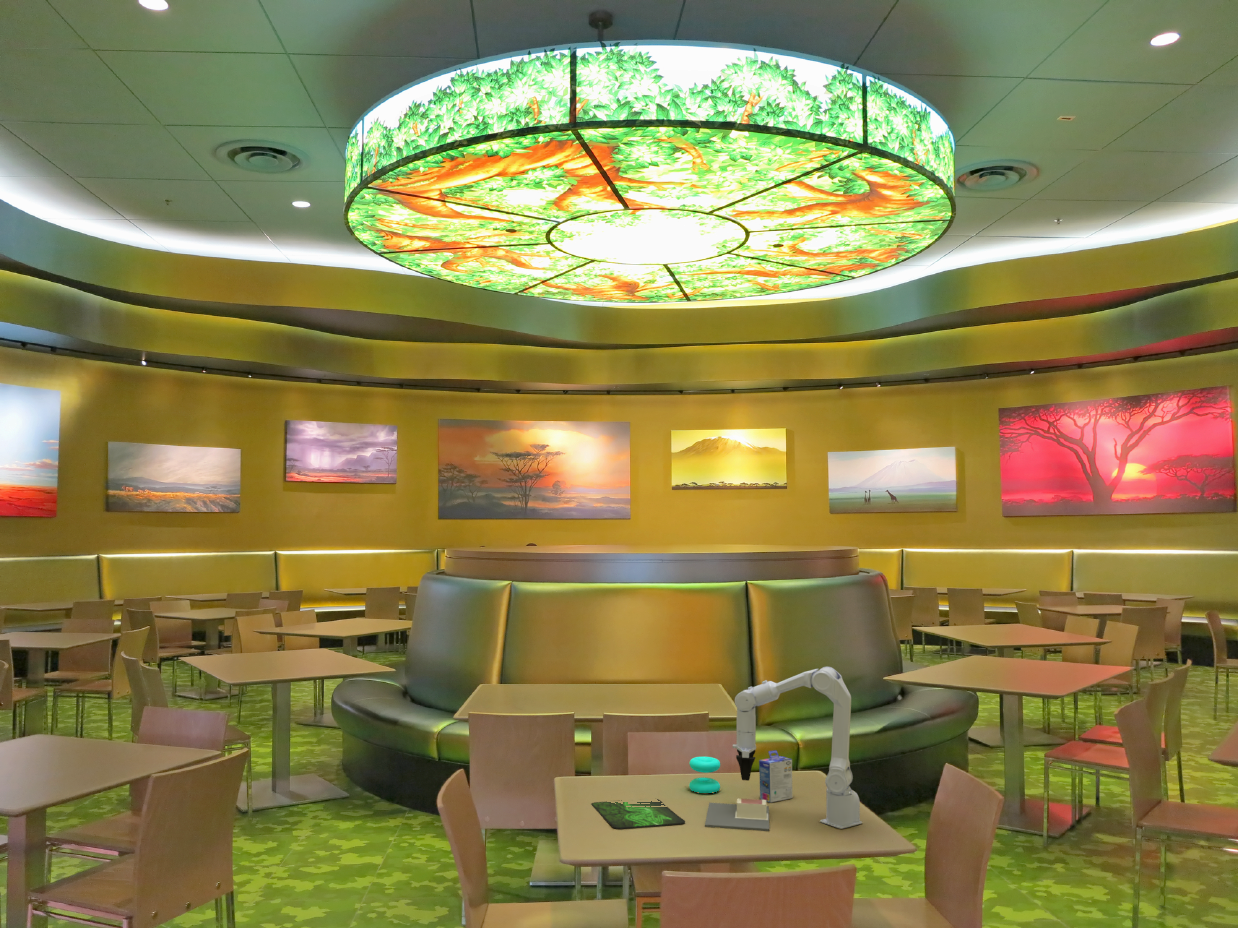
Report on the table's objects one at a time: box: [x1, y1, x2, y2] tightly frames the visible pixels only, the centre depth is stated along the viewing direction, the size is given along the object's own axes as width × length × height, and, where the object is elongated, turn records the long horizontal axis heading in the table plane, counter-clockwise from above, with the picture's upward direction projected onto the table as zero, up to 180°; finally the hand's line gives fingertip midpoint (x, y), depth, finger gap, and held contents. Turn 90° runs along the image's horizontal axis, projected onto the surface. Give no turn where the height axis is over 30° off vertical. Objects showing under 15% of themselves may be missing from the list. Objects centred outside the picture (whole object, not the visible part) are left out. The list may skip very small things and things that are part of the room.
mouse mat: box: [590, 798, 686, 830], centre depth 270 cm, size 27×22×1 cm
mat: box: [704, 802, 770, 832], centre depth 268 cm, size 18×22×1 cm
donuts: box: [688, 756, 721, 794], centre depth 296 cm, size 10×10×10 cm
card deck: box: [736, 797, 767, 819], centre depth 267 cm, size 5×8×4 cm, turn 82°
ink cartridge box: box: [758, 750, 793, 803], centre depth 288 cm, size 10×6×14 cm, turn 124°
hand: (745, 776), depth 275 cm, fingers open, 7 cm apart
